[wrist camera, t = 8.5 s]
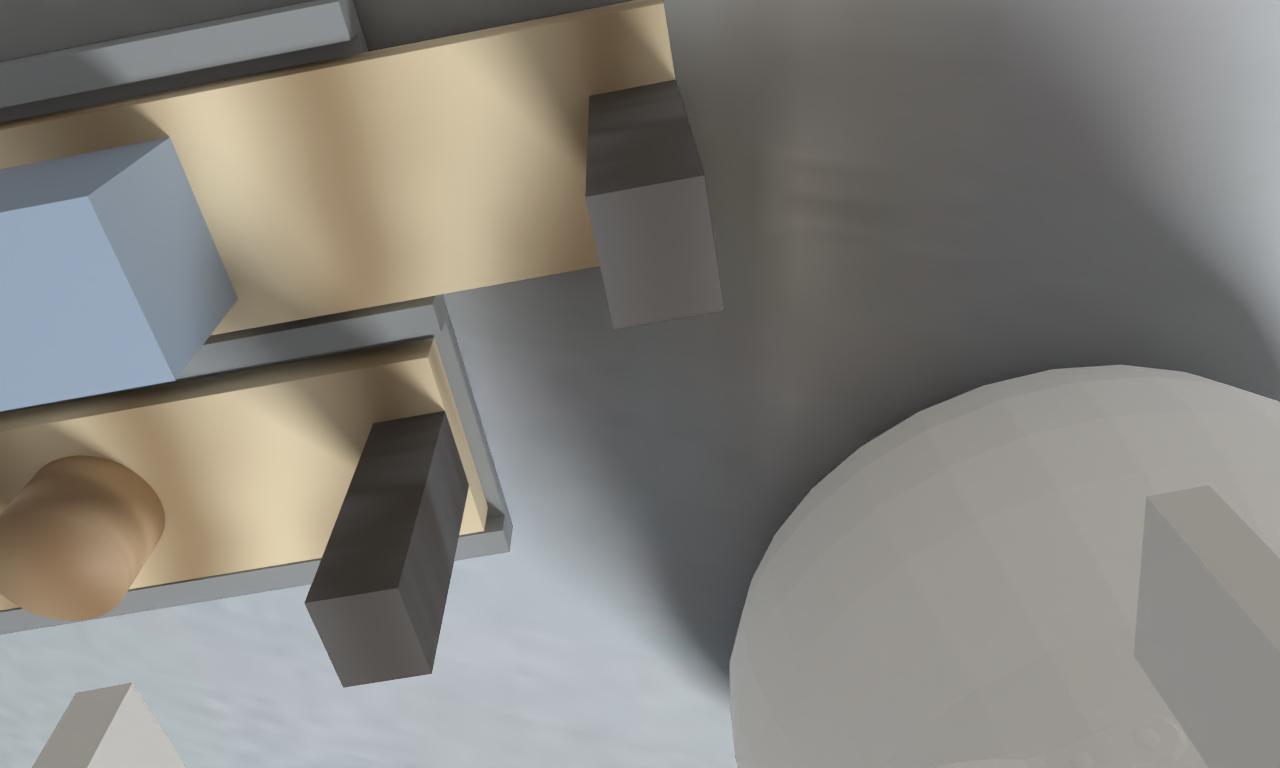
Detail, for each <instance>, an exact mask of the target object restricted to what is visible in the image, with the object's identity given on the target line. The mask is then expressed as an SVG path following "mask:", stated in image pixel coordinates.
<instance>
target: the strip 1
mask: <svg viewBox="0 0 1280 768" xmlns="http://www.w3.org/2000/svg"><path fill="white" fill-rule="evenodd" d="M168 137H170V138H171V141H172V143H173V146H174V148H175V150H176V153H177V155H178V157H179V160H180V162H181V165H182V167H183V169H184V172H185V174H186V177H187V179H188V181H189V184H190V186H191V188H192V191H193V193H194V196H195V198H196V200H197V203H198V205H199V208H200V210H201V212H202V215H203V217H204V219H205V222H206V224H207V227H208V229H209V231H210V234H211V236H212V239H213V241H214V243H215V246H216V248H217V250H218V253H219V255H220V258H221V260H222V262H223V265H224V267H225V270H226V272H227V274H228V277H229V279H230V281H231V284H232V286H233V289H234V291H235V293H236V296H237V298H238V300H237V301H236V302H235V304H234V305H233V306H232V308H231V309H230V310H229V312H228V313H227V314H226V315H225V317H224V318H223V319H222V321H221V322H220V323H219V325H218V326H217V327H216V328H215V330H214V331H213V332H212V334H211V335H217V334H222V333H228V332H233V331H239V330H245V329H250V328H256V327H262V326H267V325H273V324H278V323H284V322H290V321H295V320H301V319H306V318H312V317H318V316H323V315H329V314H335V313H340V312H346V311H351V310H357V309H363V308H368V307H374V306H380V305H385V304H391V303H396V302H402V301H408V300H413V299H419V298H424V297H430V296H436V295H441V294H447V293H453V292H458V291H464V290H469V289H475V288H481V287H486V286H492V285H497V284H503V283H509V282H514V281H520V280H526V279H531V278H537V277H542V276H548V275H554V274H559V273H565V272H571V271H576V270H582V269H587V268H593V267H599V266H600V269H601V273H602V278H603V283H604V288H605V292H606V297H607V302H608V306H609V311H610V316H611V321H612V325H613V330H615V329H621V328H626V327H632V326H638V325H644V324H649V323H655V322H661V321H667V320H672V319H678V318H684V317H690V316H695V315H701V314H707V313H713V312H718V311H724V305H723V299H722V292H721V285H720V278H719V271H718V265H717V258H716V251H715V244H714V237H713V231H712V224H711V217H710V210H709V203H708V197H707V190H706V183H705V176H704V172H703V169H702V166H701V163H700V159H699V156H698V153H697V149H696V146H695V143H694V139H693V136H692V133H691V129H690V126H689V123H688V119H687V116H686V113H685V110H684V106H683V103H682V100H681V96H680V93H679V90H678V86H677V83H676V80H675V73H674V67H673V60H672V54H671V47H670V41H669V34H668V28H667V21H666V15H665V9H664V3H663V0H634V1H629V2H623V3H618V4H613V5H608V6H603V7H597V8H592V9H587V10H582V11H577V12H571V13H566V14H561V15H556V16H551V17H546V18H540V19H535V20H530V21H525V22H520V23H514V24H509V25H504V26H499V27H494V28H489V29H483V30H478V31H473V32H468V33H463V34H457V35H452V36H447V37H442V38H437V39H431V40H426V41H421V42H416V43H411V44H406V45H400V46H395V47H390V48H385V49H380V50H374V51H369V52H364V53H359V54H354V55H349V56H343V57H338V58H333V59H328V60H323V61H317V62H312V63H307V64H302V65H297V66H292V67H286V68H281V69H276V70H271V71H266V72H260V73H255V74H250V75H245V76H240V77H234V78H229V79H224V80H219V81H214V82H209V83H203V84H198V85H193V86H188V87H183V88H177V89H172V90H167V91H162V92H157V93H152V94H146V95H141V96H136V97H131V98H126V99H120V100H115V101H110V102H105V103H100V104H94V105H89V106H84V107H79V108H74V109H69V110H63V111H58V112H53V113H48V114H43V115H37V116H32V117H27V118H22V119H17V120H12V121H6V122H1V123H0V169H5V168H10V167H15V166H20V165H26V164H31V163H36V162H42V161H47V160H52V159H57V158H63V157H68V156H73V155H78V154H84V153H89V152H94V151H99V150H105V149H110V148H115V147H120V146H126V145H131V144H136V143H141V142H147V141H152V140H157V139H163V138H168ZM211 335H210V336H211Z"/></svg>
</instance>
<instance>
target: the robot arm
mask: <svg viewBox="0 0 1280 768" xmlns="http://www.w3.org/2000/svg"><path fill="white" fill-rule="evenodd" d="M1134 657H1135V659H1136V660H1137V662H1138V663H1139V665H1140V666H1141V668H1142V669H1143V671H1144V672H1145V674H1146V675H1147V677H1148V678H1149V680H1150V681H1151V683H1152V684H1153V686H1154V687H1155V689H1156V690H1157V692H1158V693H1159V695H1160V696H1161V698H1162V699H1163V701H1164V702H1165V704H1166V705H1167V707H1168V708H1169V709H1170V711H1171V712H1172V714H1173V715H1174V717H1175V718H1176V720H1177V721H1178V723H1179V724H1180V726H1181V727H1182V729H1183V730H1184V732H1185V733H1186V735H1187V736H1188V738H1189V739H1190V741H1191V742H1192V744H1193V745H1194V747H1195V748H1196V750H1197V751H1198V753H1199V754H1200V756H1201V757H1202V759H1203V760H1204V762H1205V763H1206V765H1207V766H1208V768H1280V558H1279V557H1278V556H1277V555H1276V554H1275V553H1274V552H1273V551H1272V550H1271V549H1270V548H1269V547H1268V546H1267V545H1266V544H1265V543H1264V542H1263V541H1262V540H1261V538H1260V537H1259V536H1258V535H1257V534H1256V533H1255V532H1254V531H1253V530H1252V529H1251V528H1250V527H1249V526H1248V525H1247V524H1246V523H1245V522H1244V521H1243V520H1242V519H1241V518H1240V517H1239V516H1238V515H1237V514H1236V513H1235V512H1234V510H1233V509H1232V508H1231V507H1230V506H1229V505H1228V504H1227V503H1226V502H1225V501H1224V500H1223V499H1222V498H1221V497H1220V496H1219V495H1218V494H1217V493H1216V492H1215V491H1214V490H1213V489H1212V488H1211V487H1210V486H1209V485H1206V486H1201V487H1195V488H1190V489H1184V490H1179V491H1174V492H1168V493H1163V494H1157V495H1152V496H1146V508H1145V520H1144V533H1143V545H1142V557H1141V570H1140V582H1139V595H1138V607H1137V619H1136V632H1135V644H1134ZM32 768H186V767H185V765H184V764H183V762H182V761H181V759H180V758H179V756H178V754H177V753H176V751H175V750H174V748H173V747H172V745H171V743H170V742H169V740H168V739H167V737H166V735H165V734H164V732H163V731H162V729H161V728H160V726H159V724H158V723H157V721H156V720H155V718H154V716H153V715H152V713H151V712H150V710H149V709H148V707H147V705H146V704H145V702H144V701H143V699H142V698H141V696H140V694H139V693H138V691H137V690H136V688H135V686H134V685H133V683H128V684H123V685H117V686H112V687H106V688H101V689H95V690H90V691H85V692H79V693H76V694H75V696H74V697H73V699H72V701H71V703H70V704H69V706H68V708H67V709H66V711H65V713H64V714H63V716H62V718H61V720H60V721H59V723H58V725H57V726H56V728H55V730H54V731H53V733H52V735H51V737H50V738H49V740H48V742H47V743H46V745H45V747H44V748H43V750H42V752H41V753H40V755H39V757H38V759H37V760H36V762H35V764H34V765H33V767H32Z"/></svg>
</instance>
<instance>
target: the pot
mask: <svg viewBox="0 0 1280 768" xmlns="http://www.w3.org/2000/svg"><path fill="white" fill-rule="evenodd" d="M1206 485H1209V486H1210V487H1211V488H1212V489H1213V490H1214V491H1215V492H1216V493H1217V494H1218V495H1219V496H1220V497H1221V498H1222V499H1223V500H1224V501H1225V502H1226V503H1227V504H1228V505H1229V506H1230V507H1231V508H1232V509H1233V510H1234V512H1235V513H1236V514H1237V515H1238V516H1239V517H1240V518H1241V519H1242V520H1243V521H1244V522H1245V523H1246V524H1247V525H1248V526H1249V527H1250V528H1251V529H1252V530H1253V531H1254V532H1255V533H1256V534H1257V535H1258V536H1259V537H1260V538H1261V540H1262V541H1263V542H1264V543H1265V544H1266V545H1267V546H1268V547H1269V548H1270V549H1271V550H1272V551H1273V552H1274V553H1275V554H1276V555H1277V556H1278V557H1279V558H1280V402H1279V401H1276V400H1273V399H1270V398H1267V397H1264V396H1261V395H1258V394H1255V393H1252V392H1249V391H1246V390H1242V389H1239V388H1236V387H1233V386H1230V385H1227V384H1224V383H1220V382H1217V381H1214V380H1211V379H1207V378H1204V377H1201V376H1197V375H1194V374H1191V373H1187V372H1182V371H1173V370H1164V369H1155V368H1147V367H1138V366H1129V365H1108V366H1093V367H1078V368H1063V369H1051V370H1047V371H1043V372H1038V373H1034V374H1030V375H1026V376H1021V377H1017V378H1013V379H1009V380H1004V381H1000V382H996V383H992V384H987V385H983V386H981V387H978V388H976V389H973V390H971V391H968V392H966V393H964V394H961V395H959V396H956V397H954V398H951V399H949V400H946V401H944V402H941V403H939V404H937V405H934V406H932V407H929V408H927V409H924V410H922V411H919V412H917V413H916V414H914V415H912V416H911V417H909V418H907V419H906V420H904V421H902V422H901V423H899V424H898V425H896V426H894V427H893V428H891V429H889V430H888V431H886V432H884V433H883V434H881V435H879V436H878V437H876V438H874V439H873V440H871V441H869V442H868V443H866V444H864V445H863V446H861V447H860V448H859V449H857V450H856V451H855V452H854V453H853V454H852V455H850V456H849V457H848V458H847V459H846V460H845V461H843V462H842V463H841V464H840V465H839V466H838V467H836V468H835V469H834V470H833V471H832V472H831V473H829V474H828V475H827V476H826V477H825V478H824V479H822V480H821V481H820V482H819V483H818V484H817V485H815V486H814V487H813V488H812V489H811V490H810V492H809V493H808V494H807V495H806V496H805V498H804V499H803V500H802V501H801V503H800V504H799V505H798V506H797V508H796V509H795V510H794V511H793V513H792V514H791V515H790V516H789V517H788V519H787V520H786V521H785V522H784V524H783V525H782V526H781V527H780V529H779V530H778V531H777V532H776V534H775V535H774V537H773V539H772V541H771V543H770V545H769V547H768V549H767V551H766V553H765V555H764V557H763V559H762V561H761V562H760V564H759V566H758V568H757V570H756V572H755V574H754V576H753V578H752V580H751V583H750V587H749V591H748V594H747V598H746V601H745V605H744V608H743V612H742V616H741V620H740V624H739V627H738V631H737V635H736V639H735V643H734V647H733V651H732V655H731V659H730V710H731V720H732V730H733V740H734V750H735V758H736V761H737V764H738V768H1208V766H1207V765H1206V763H1205V762H1204V760H1203V759H1202V757H1201V756H1200V754H1199V753H1198V751H1197V750H1196V748H1195V747H1194V745H1193V744H1192V742H1191V741H1190V739H1189V738H1188V736H1187V735H1186V733H1185V732H1184V730H1183V729H1182V727H1181V726H1180V724H1179V723H1178V721H1177V720H1176V718H1175V717H1174V715H1173V714H1172V712H1171V711H1170V709H1169V708H1168V707H1167V705H1166V704H1165V702H1164V701H1163V699H1162V698H1161V696H1160V695H1159V693H1158V692H1157V690H1156V689H1155V687H1154V686H1153V684H1152V683H1151V681H1150V680H1149V678H1148V677H1147V675H1146V674H1145V672H1144V671H1143V669H1142V668H1141V666H1140V665H1139V663H1138V662H1137V660H1136V659H1135V657H1134V644H1135V632H1136V619H1137V607H1138V595H1139V582H1140V570H1141V557H1142V545H1143V533H1144V520H1145V508H1146V496H1152V495H1157V494H1163V493H1168V492H1174V491H1179V490H1184V489H1190V488H1195V487H1201V486H1206Z"/></svg>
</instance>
